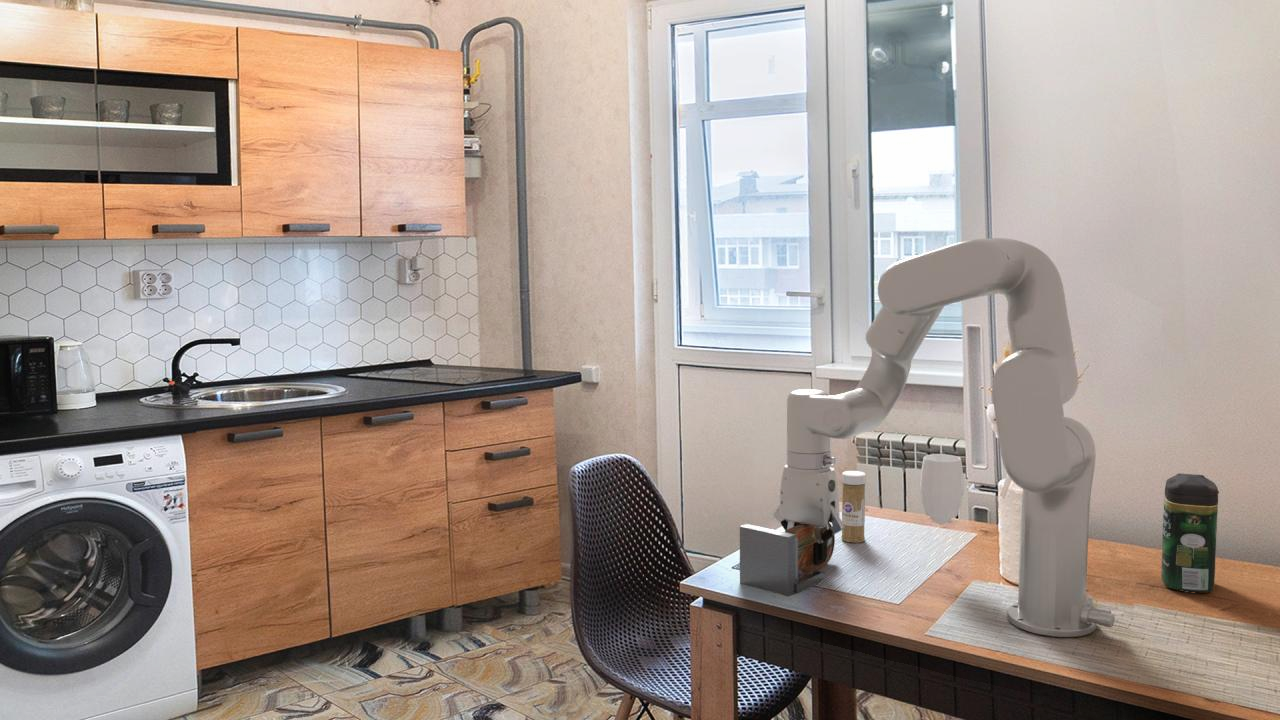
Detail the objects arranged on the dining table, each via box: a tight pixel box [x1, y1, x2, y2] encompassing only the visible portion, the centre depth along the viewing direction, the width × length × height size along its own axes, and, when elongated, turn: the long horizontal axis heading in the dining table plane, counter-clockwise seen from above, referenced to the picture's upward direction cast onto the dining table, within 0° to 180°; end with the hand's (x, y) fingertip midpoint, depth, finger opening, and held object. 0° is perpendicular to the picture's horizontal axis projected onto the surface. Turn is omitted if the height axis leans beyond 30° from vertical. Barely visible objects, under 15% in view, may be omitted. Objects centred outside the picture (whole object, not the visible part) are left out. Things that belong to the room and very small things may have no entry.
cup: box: [919, 453, 965, 525], centre depth 177 cm, size 7×7×21 cm
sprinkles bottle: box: [841, 470, 867, 544], centre depth 198 cm, size 5×5×13 cm
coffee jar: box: [1161, 473, 1220, 594], centre depth 169 cm, size 10×8×19 cm
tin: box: [784, 522, 836, 578], centre depth 181 cm, size 15×3×8 cm, turn 137°
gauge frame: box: [739, 523, 824, 597], centre depth 175 cm, size 11×10×10 cm
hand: (807, 559), depth 181 cm, fingers open, 4 cm apart
